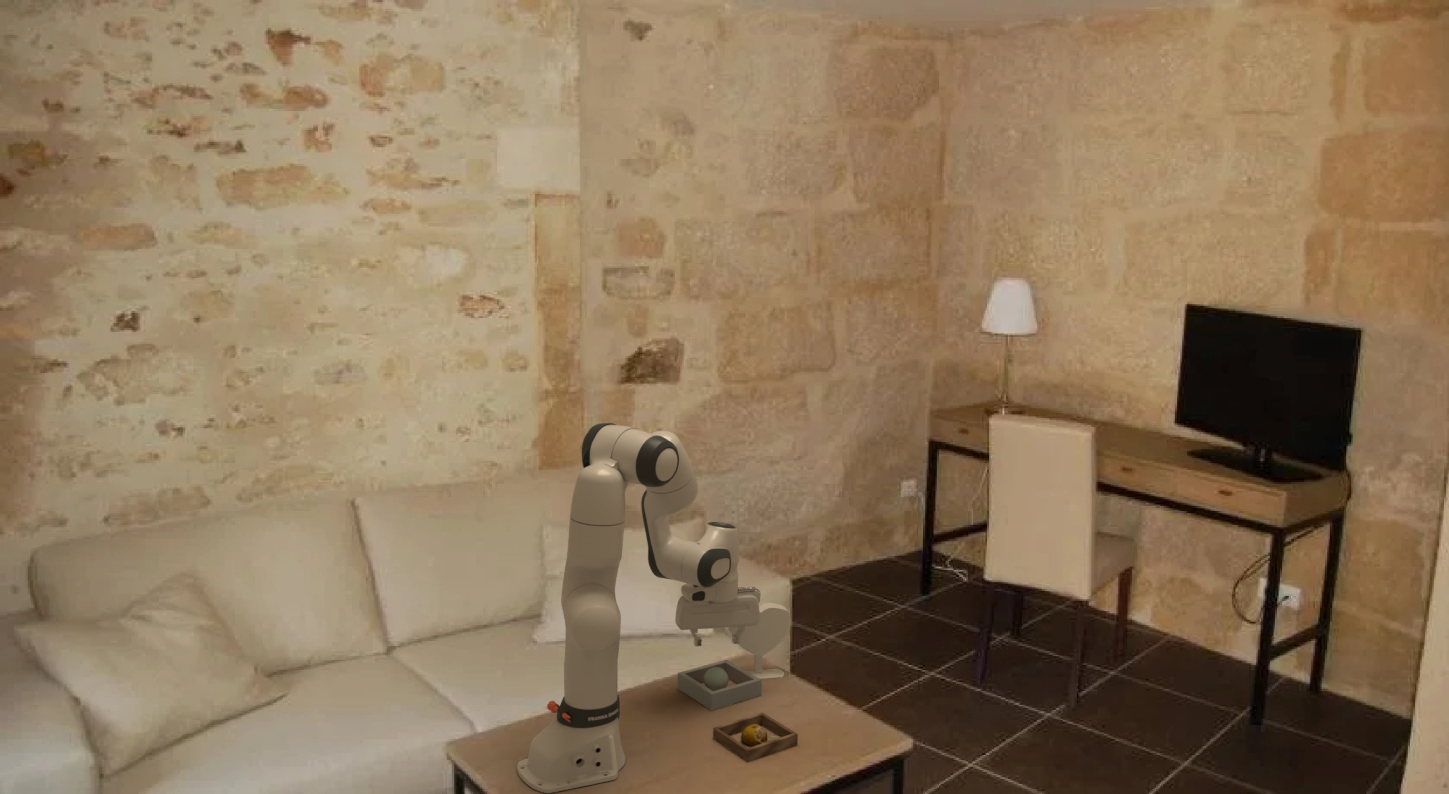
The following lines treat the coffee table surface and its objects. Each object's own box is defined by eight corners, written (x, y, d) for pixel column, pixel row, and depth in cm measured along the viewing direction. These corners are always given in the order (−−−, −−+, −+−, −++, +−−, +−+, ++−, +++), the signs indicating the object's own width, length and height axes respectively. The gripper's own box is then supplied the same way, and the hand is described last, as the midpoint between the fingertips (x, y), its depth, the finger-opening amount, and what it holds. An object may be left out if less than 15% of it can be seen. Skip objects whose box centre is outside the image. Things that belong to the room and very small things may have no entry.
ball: (728, 697, 267) (721, 676, 265) (704, 699, 268) (698, 678, 266) (733, 682, 272) (727, 661, 270) (710, 683, 274) (704, 663, 272)
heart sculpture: (785, 668, 285) (787, 600, 282) (790, 676, 280) (792, 607, 277) (725, 672, 281) (726, 604, 278) (729, 681, 277) (730, 611, 274)
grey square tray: (711, 710, 260) (711, 694, 260) (677, 688, 272) (677, 673, 271) (761, 695, 269) (761, 680, 268) (726, 675, 280) (726, 659, 279)
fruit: (773, 754, 240) (773, 738, 240) (736, 749, 243) (736, 733, 242) (782, 737, 248) (782, 722, 248) (746, 732, 251) (746, 716, 250)
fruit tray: (747, 761, 237) (747, 750, 236) (713, 738, 247) (713, 728, 246) (797, 744, 244) (797, 734, 244) (762, 722, 255) (762, 712, 254)
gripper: (756, 582, 272) (754, 636, 274) (674, 586, 266) (672, 642, 268) (765, 590, 266) (762, 646, 268) (681, 595, 260) (679, 652, 262)
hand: (716, 644), depth 268 cm, fingers open, 8 cm apart
